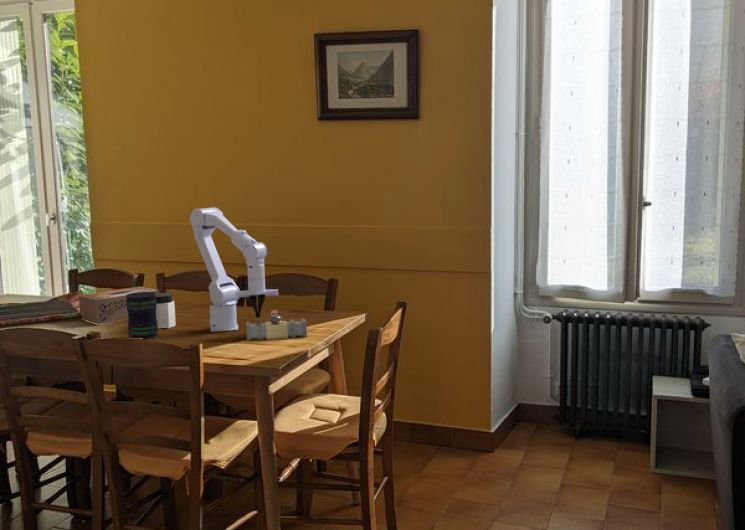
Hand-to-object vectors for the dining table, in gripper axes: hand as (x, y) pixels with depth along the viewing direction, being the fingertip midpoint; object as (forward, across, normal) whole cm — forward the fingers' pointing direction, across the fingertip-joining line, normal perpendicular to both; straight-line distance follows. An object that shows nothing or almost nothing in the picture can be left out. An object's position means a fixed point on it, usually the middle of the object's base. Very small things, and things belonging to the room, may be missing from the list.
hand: (257, 316), depth 256 cm
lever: (+1, +6, -2) cm, 6 cm away
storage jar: (+6, -39, +4) cm, 40 cm away
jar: (+6, -34, +19) cm, 39 cm away
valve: (+6, +6, -7) cm, 11 cm away
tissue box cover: (+6, -52, +41) cm, 67 cm away
